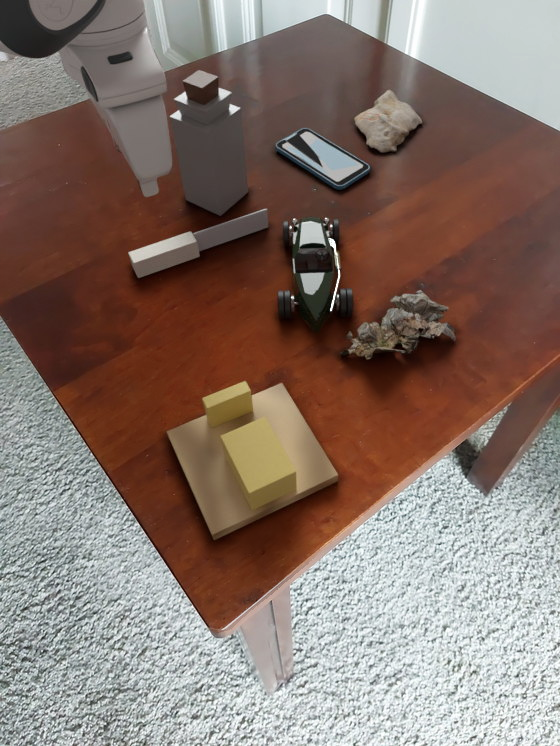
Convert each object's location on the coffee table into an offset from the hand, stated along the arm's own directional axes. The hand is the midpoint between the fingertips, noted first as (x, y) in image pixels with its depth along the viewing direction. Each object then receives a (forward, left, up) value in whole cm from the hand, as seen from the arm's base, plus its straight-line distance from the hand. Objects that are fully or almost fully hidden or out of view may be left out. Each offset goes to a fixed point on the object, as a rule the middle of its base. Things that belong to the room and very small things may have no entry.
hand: (136, 169), depth 68 cm
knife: (+7, +1, -16) cm, 17 cm away
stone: (+45, +14, -16) cm, 50 cm away
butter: (-1, -34, -14) cm, 37 cm away
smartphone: (+31, +11, -16) cm, 36 cm away
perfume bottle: (+13, +11, -16) cm, 23 cm away
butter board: (-1, -32, -16) cm, 36 cm away
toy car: (+17, -11, -16) cm, 26 cm away
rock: (+22, -24, -16) cm, 36 cm away
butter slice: (-1, -26, -14) cm, 30 cm away
